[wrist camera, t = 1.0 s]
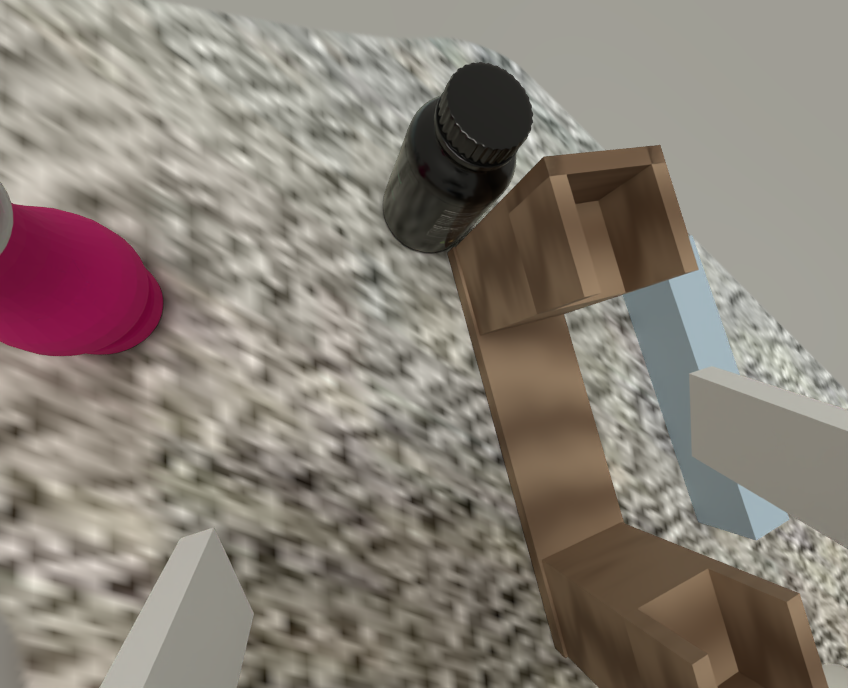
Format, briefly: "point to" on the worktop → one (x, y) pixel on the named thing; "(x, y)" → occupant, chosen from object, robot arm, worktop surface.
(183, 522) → the worktop surface
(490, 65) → the supplement bottle
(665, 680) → the bracket
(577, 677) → the worktop surface
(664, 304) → the rail
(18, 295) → the pepper mill
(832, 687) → the honey pot
